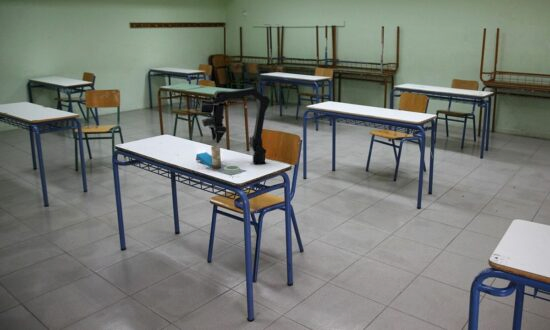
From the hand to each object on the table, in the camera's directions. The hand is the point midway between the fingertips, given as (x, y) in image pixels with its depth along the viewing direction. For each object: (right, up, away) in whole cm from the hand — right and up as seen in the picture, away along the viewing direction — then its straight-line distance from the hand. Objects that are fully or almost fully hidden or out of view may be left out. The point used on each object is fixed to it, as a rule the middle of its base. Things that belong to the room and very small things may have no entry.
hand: (215, 141), depth 265 cm
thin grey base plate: (+6, -17, -4) cm, 18 cm away
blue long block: (-7, -13, +11) cm, 19 cm away
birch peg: (+1, -15, -1) cm, 15 cm away
